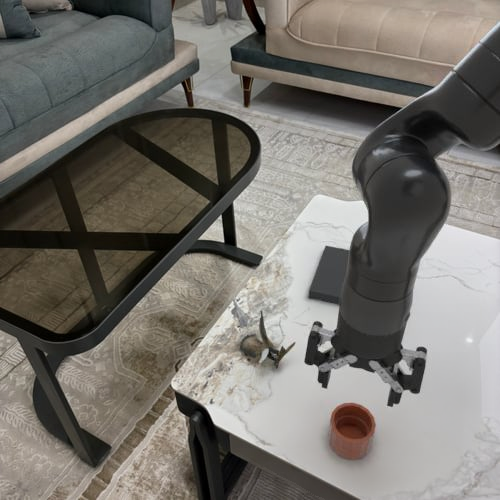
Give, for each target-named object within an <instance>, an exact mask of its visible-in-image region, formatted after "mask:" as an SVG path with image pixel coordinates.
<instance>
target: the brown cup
mask: <svg viewBox="0 0 500 500" xmlns="http://www.w3.org/2000/svg"><path fill="white" fill-rule="evenodd" d="M376 425H377V424H376V421H375V417H374V415H373V414H372V412H371V411H370V410H369V409H368V408H367V407H365V406H363V405H362V404H360V403H356V402H344V403H341V404H339V405H337V406H336V407H335V408H334V409H333V410H332V412H331V415H330V419H329V426H328V434H327V438H328V442H329V445H330V447H331V448H332V449H333V451H334V452H335V453H336V454H338V456H340V457H342V458H345V459H349V460H352V459H353V460H355V459H360V458H363V457H365V456H366V455H367V454H368V453H369V451H370V450H371V448H372V443H373V439H374V436H375V432H376V428H377V427H376Z"/></svg>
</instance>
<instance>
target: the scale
mask: <svg viewBox="0 0 500 500" xmlns="http://www.w3.org/2000/svg"><path fill="white" fill-rule="evenodd" d="M348 257H349V249H347V248H341V247H335V246H330V245H325V246H324V248H323V251H322V254H321V257H320V260H319V262H318V265H317V268H316V270H315V273H314V276H313V278H312V281H311V284H310V286H309V289H308V298H310V299H314V300H319V301H324V302H328V303H332V304H336V305H339V298H340V296H341V291H342V285H343V282H344V279H345V276H346V272H347V265H348Z"/></svg>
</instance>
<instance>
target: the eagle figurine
mask: <svg viewBox="0 0 500 500" xmlns="http://www.w3.org/2000/svg"><path fill="white" fill-rule="evenodd" d="M258 330H259V335H260V339H261V340H260V339H259V338H258V336H257V334H256V333H254V334H252V333H251V334H247V335H245V336H244V337H243V338H242V339H241V342H240V344H239V349H240V351H242V352H244V353H245V354H246V355H247V356H248V357H249V358H251V359H256V358H257V357H260V360H258V364H263V362H264V361H265V360H266V359H269V360H271V361H272V363H273V364H272V365H273V366H275V369H278V368H279V364H280V362H281V361H282V360H283V358H284V357H285V356H286V355H288V353H289V352H290V351H291V350H292V349H293V348H294V346H295V345H296V342H295V341H293V343H291V344H290V345H288V347H286V348H285V347H284V345H281V347H280V348H279V349H276V345H275V344H274V342H272V341H271V340H270V339H269V337H268V334H267V330H266V326H265V320H264V315H263V309H260V318H259V324H258Z"/></svg>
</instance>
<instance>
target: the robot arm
mask: <svg viewBox="0 0 500 500" xmlns="http://www.w3.org/2000/svg"><path fill="white" fill-rule="evenodd" d="M459 145H465V146H466V147H468V148H470V149H472V150H473V149H474V150H476V151H480V152H485V151H488V150H491V149H494V148H496V147H497V146H498V145H500V20H499V21H498V22H497V23H496V24H495V25H494V26H493V27H491V29H490V30H489V31H488V32H487V33H486V34H485V35H484V36H483V37H482V38H481V39H480V40H479V41H478V42H476V44H475V45H474V46H473V47H472V48H470V50H469V51H468V52H467V53H466V55H464V56H463V58H461V60H460V61H459V62H458V63H457V64H456V65H454V67H453V68H452V70H451V71H449V72H448V73H447V74H446V76H444V78H443V79H442V80H441V81H440V83H438V84H437V85H436V86H434V87H433V88H431V89H430V90H428V91H427V92H425V93H423V94H422V95H420V96H418V97H416V98H415V99H414V100H412V101H411V102H409V103H408V104H407V105H405V106H404V107H402V108H401V109H400V110H398V111H397V112H395V113H394V114H392V115H391V116H389V117H388V118H386V119H385V120H384V121H382V122H381V123H380V124H379V125H377V126H376V127H375V128H374V129H372V131H370V133H369V134H368V135H367V136H366V137H365V138H364V139H363V140H362V142H361V143H360V145H359V147H358V149H357V150H356V152H355V154H354V156H353V159H352V164H351V176H352V180H353V182H354V184H355V186H356V187H355V188H356V189H357V191H358V193H359V195H360V197H361V199H362V201H363V203H364V205H365V208H366V209H367V217H368V218H367V221H365V222H364V223H362V224H361V225H360V226H359V227H358V228H357V229H356V231H354V234H353V236H352V239H351V241H350V245H349V249H348V250H349V257H348V265H347V272H346V276H345V279H344V282H343V285H342V291H341V296H340V298H339V304H338V314H337V321H336V328H335V329H333V330H331V329H328V328H324V327H323V323H322V322H321V321H318V320H315V321H313V323H312V326H311V328H310V331H309V335H308V338H307V342H306V343H307V344H306V349H305V355H304V360H303V361H304V364H305V365H307V366H316V368H317V370H318V371H317V373H318V374H317V382H318V384H321V388H322V389H325V390H327V389H328V386H329V383H330V378H331V373H332V370H338V369H340V368H343V367H344V366H347V365H348V367H349V368H353V369H359V370H360V369H361V370H364V371H366V372H369V373H373V374H375V372H376V373H377V375H378V376H379V377H380V379H381V380H382V382H384V383H385V384H388V385H389V386H390V388H389V392H388V397H387V403H386V406H387V407H390V408H394V407H393V406H394V405H399V404H400V402H401V400H402V396H403V393H404V391H409V392H410V393H411V394H414V395H418V394H420V393H421V388H422V383H423V379H424V375H425V370H426V365H427V364H426V363H427V358H428V357H427V355H428V349H427V347H425V346H418V347H416V349H415V350H412V349H407V348H404V346H403V344H402V342H403V339H404V335H405V332H406V328H407V324H408V322H409V319H410V317H411V309H412V305H413V300H414V289H415V283H416V280H417V276H418V274H419V273H418V272H419V269H420V264H421V260H422V259H423V257H424V256H425V254H427V252H428V251H429V249H430V248H431V246H432V244H433V243H434V241H435V240H436V238H437V237H438V235H439V234H440V232H441V231H442V229H443V228H444V225H445V224H446V222H447V219H448V218H449V215H450V212H451V206H452V186H451V183H450V179H449V178H448V176H447V174H446V172H445V171H444V170H443V168H442V167H441V166H440V165H439V163H438V162H437V158H439V157H440V156H442V155H443V154H445V153H446V152H449V151H451V150H452V149H454V148H455V147H457V146H459ZM326 342H330V345H331V347H329V348H328V349H326V350H324V351H320V350H319V348H320V347H322V345H325V343H326ZM401 361H405V362H406V366H407V367H408V369H409V371H410V372H411V374H406V372H405V371H404V369H403V368H402V367H401V365H400V364H399V363H400V362H401Z"/></svg>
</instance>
